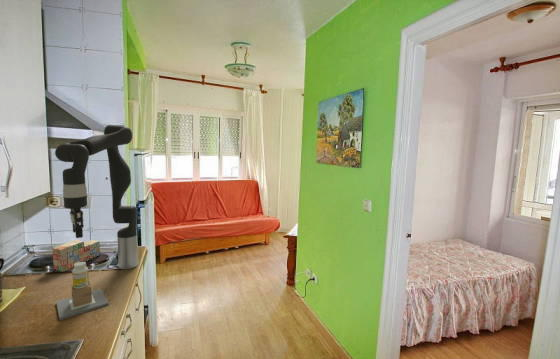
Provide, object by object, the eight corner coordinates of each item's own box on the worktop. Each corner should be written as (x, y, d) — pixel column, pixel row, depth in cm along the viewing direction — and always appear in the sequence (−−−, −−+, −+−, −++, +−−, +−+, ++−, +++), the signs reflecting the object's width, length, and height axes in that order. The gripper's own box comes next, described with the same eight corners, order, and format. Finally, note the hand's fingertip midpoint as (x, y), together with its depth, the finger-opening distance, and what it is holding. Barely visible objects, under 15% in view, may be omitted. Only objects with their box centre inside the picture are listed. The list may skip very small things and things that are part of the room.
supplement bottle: (81, 289, 112) (80, 267, 111) (69, 288, 113) (68, 265, 112) (92, 283, 117) (91, 261, 116) (80, 281, 118) (79, 260, 117)
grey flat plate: (56, 303, 116) (56, 300, 116) (101, 290, 127) (101, 288, 127) (59, 320, 106) (59, 317, 106) (108, 304, 116) (108, 302, 116)
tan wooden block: (72, 300, 116) (71, 285, 115) (89, 295, 120) (88, 280, 119) (74, 307, 112) (73, 291, 111) (92, 302, 116) (91, 286, 115)
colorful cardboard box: (92, 254, 165) (91, 234, 163) (100, 256, 163) (99, 236, 161) (53, 270, 145) (51, 247, 143) (62, 272, 143) (60, 249, 141)
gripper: (89, 197, 107) (92, 237, 109) (84, 191, 118) (86, 228, 120) (65, 199, 102) (68, 241, 104) (61, 193, 113) (64, 231, 115)
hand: (77, 234), depth 112 cm, fingers open, 8 cm apart
